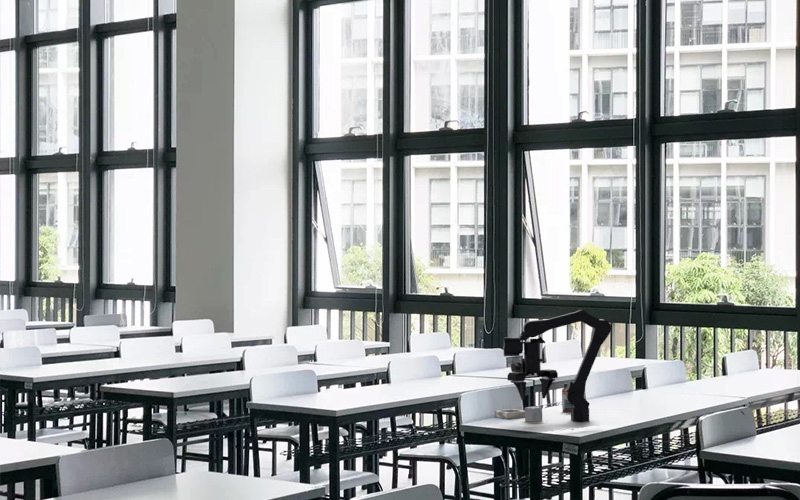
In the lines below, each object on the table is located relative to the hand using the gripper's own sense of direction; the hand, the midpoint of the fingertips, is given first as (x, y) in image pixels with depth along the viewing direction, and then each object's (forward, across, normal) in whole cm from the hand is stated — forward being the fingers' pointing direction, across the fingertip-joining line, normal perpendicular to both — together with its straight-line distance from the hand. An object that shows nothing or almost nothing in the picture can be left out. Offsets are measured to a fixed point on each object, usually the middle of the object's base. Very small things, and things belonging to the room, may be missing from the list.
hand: (533, 399), depth 381 cm
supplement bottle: (+10, -34, -21) cm, 41 cm away
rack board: (+9, -1, -13) cm, 16 cm away
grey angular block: (+8, 0, 0) cm, 8 cm away
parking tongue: (+9, 0, 0) cm, 9 cm away
